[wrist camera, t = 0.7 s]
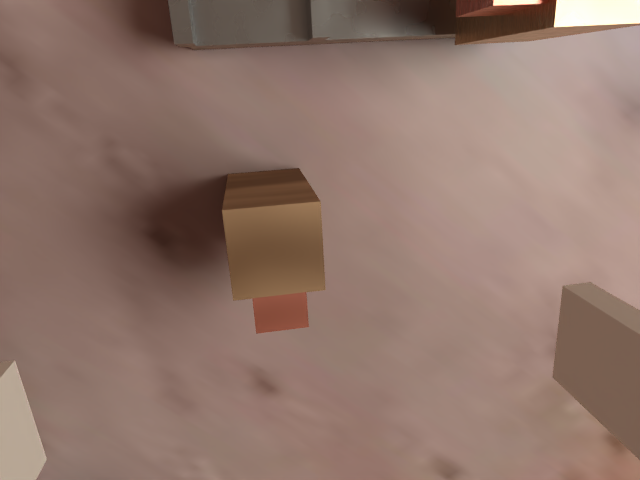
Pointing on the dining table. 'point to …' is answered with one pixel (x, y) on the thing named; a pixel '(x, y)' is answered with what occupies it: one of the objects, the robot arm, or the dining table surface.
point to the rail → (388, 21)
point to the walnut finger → (274, 245)
